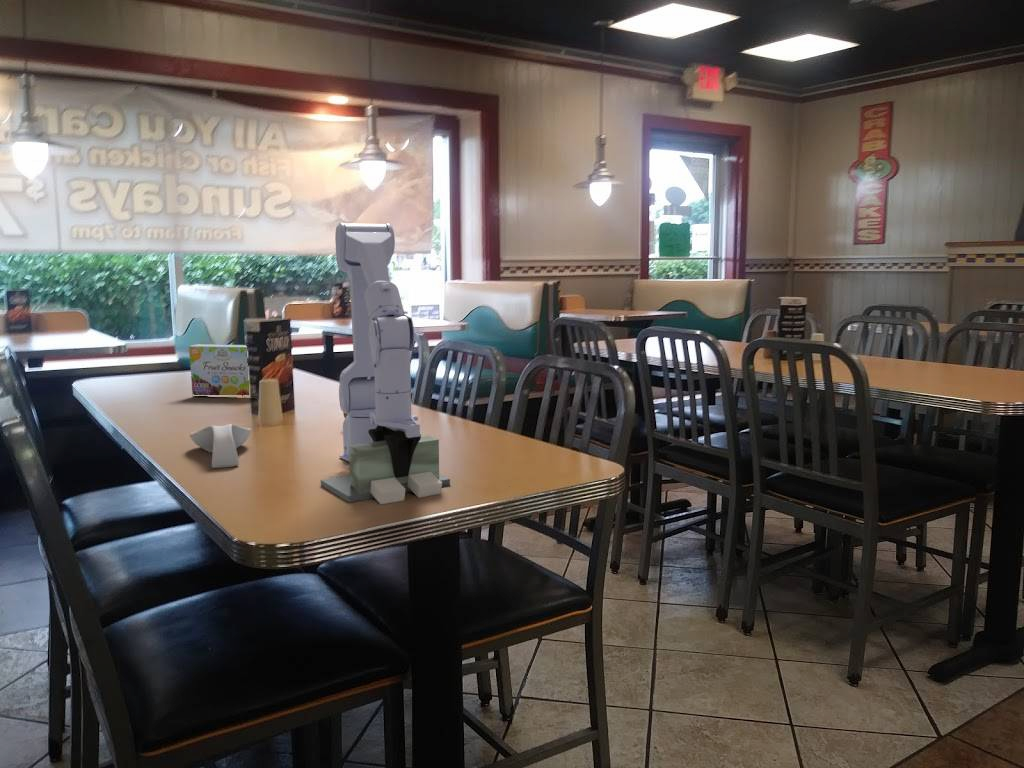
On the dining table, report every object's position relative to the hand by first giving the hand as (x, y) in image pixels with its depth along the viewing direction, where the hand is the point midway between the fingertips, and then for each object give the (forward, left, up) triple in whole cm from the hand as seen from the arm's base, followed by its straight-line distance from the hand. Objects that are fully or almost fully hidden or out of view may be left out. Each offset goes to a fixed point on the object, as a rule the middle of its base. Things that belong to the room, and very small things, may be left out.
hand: (395, 473), depth 130 cm
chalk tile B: (+4, +3, -2) cm, 6 cm away
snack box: (-118, +4, -3) cm, 118 cm away
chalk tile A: (+4, -3, -2) cm, 6 cm away
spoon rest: (-44, -16, -3) cm, 47 cm away
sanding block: (0, 0, -2) cm, 2 cm away
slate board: (-4, 0, -3) cm, 5 cm away
